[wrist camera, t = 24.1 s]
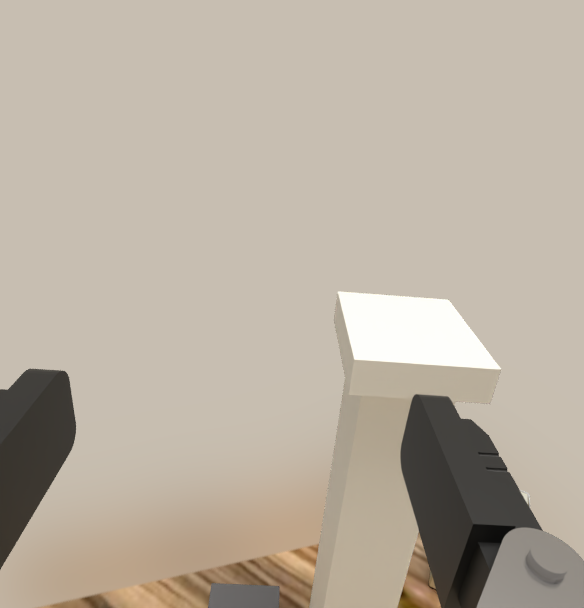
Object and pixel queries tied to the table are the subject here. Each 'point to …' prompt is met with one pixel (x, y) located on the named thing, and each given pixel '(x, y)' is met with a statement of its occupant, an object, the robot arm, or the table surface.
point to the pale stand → (386, 437)
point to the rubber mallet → (243, 596)
